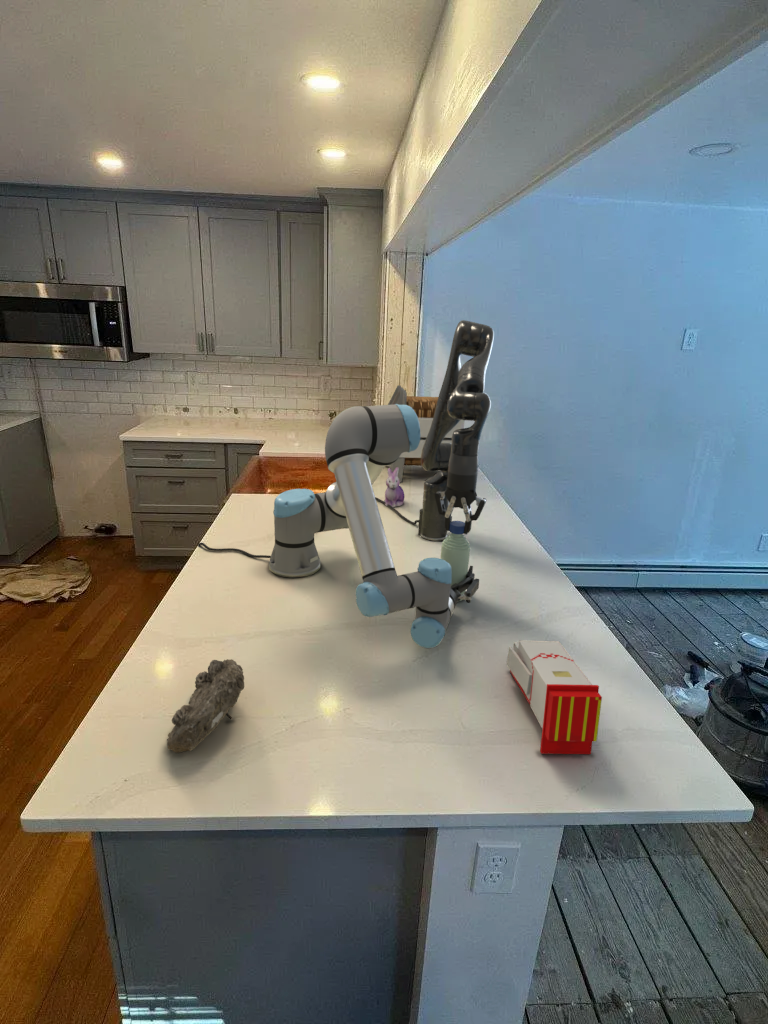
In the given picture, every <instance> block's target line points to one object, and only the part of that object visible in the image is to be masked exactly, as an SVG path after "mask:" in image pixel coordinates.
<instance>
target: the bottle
mask: <svg viewBox="0 0 768 1024" xmlns="http://www.w3.org/2000/svg"><path fill="white" fill-rule="evenodd" d="M470 553H471V544H470V542H469V541H468V539H467V538H466V536H465V534H453V533H451V532H450V533H449V534H448V535H447V537H446V538H445V539H444V540H442V542H441V549H440V559H443V560H445V561H446V562H448V563H449V564H450V566H451V572H452V583H451V585H453V584H455V583H457V584H458V583H459V582H461V581H463V580H464V579H466V575H467V573H468V570H469V565H470V564H469V563H470ZM465 591H467V590H465ZM465 591H463V592H462V593H461V594H463V593H465ZM462 601H464V599H460V601H458V602H457V603H459V602H462Z"/></svg>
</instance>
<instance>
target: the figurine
mask: <svg viewBox="0 0 768 1024" xmlns="http://www.w3.org/2000/svg"><path fill="white" fill-rule="evenodd" d="M398 471H399V468H398V467H397V468H396V469H395V470H394V472H392V471H391V469H390V467H388V468H387V478H386V479H385V484H386V485H385V486H386V489H385V492H384V498H385V499H384V500H383V501H384V502H386V504H384V505H385V507H388V506H387V505H388V504H389V505H390V506H392V507H393V508H395V507H400V506H403V505H404V502H405V490H404V489H403V487H402V486H401V485H400V484H401V482H400V481H399V479H398V476H397V475H398Z"/></svg>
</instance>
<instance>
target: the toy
mask: <svg viewBox="0 0 768 1024" xmlns="http://www.w3.org/2000/svg"><path fill="white" fill-rule="evenodd" d="M506 658H507V659H506V666H507V667H508V669H509V673H510V674H511V676H512V678H513V679H514V681H515V683H516V685H517V686H518V688H519V690H520V691H521V692H522V694H523V697H524V698H525V699H526V701H527V703H528V705H529V707H530V709H531V710H532V712H533V714H534V716H535V718H536V720H537V722H538V724H539V726H540V728H541V730H542V731H541V740H540V750H539V752H540V754H543V755H544V754H545V755H548V754H549V755H551V754H553V755H591V754H592V748H593V742H597V740H598V731H599V725H600V716H601V708H602V706H601V705H602V698H603V696H602V695H601V694H600V693H599V689H600V686H599V685H598V684H592V682H591V681H590V680H589V678H588V677H587V676H586V674H585V673H584V671H583V670H582V669H581V668H580V666H579V665H578V664H577V663H576V662H575V660H574V659H573V658H572V656H571V655H570V653H568V651H567V650H566V648H565V647H564V645H563V644H562V643H561V642H560V641H558V640H518V641H513V645H512V646H508V651H507V657H506Z"/></svg>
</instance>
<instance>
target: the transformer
mask: <svg viewBox="0 0 768 1024" xmlns="http://www.w3.org/2000/svg"><path fill="white" fill-rule="evenodd" d="M407 394H408V393H407V390H406V389H404V388H403V387H402V385H399V384H398V385H397V386H396V388H395V390H394V392H393V394H392V395H391V398H390V400H389V402H388V404H387V405H395V404H398V405H408V406H410V407H411V408H412V409H413V410H414V411H415V413H416V415H417V417H418V420H419V424H420V434H421V435H420V442H419V445H418V447H417V449H416V450H414V451H411V452H403V453H401V455H400V456H399V458H398V459H397V460H396V461H395V462H394V463H393V464H391V465H388V466H386V467H388V468H390V469H391V471H392V472H394V470H395V469H396V468H397V467H398V468H399V471H398V475H397V476H398V479H399V481H400V483H402V482H403V475H404V469H405V466H406V467H407V466H411V467H412V466H413V467H415V466H416V467H417V466H418V467H422V465H421V452H422V449H423V446H424V443H425V440H426V438H427V435H428V433H429V430H430V427H431V424H432V420H433V417H434V413H435V409H436V405H437V401H438V397H439V396H415V395H414V396H413V395H412V396H411V395H407ZM465 421H466V420H460V421H459V423H458V424H457V425H456V426H455V427H454V428H453V429H452V430H451V431H450V432H449V433H448V434H447V435H446V436H445V437H444V438H443V440H442V442H441V443H451V444H452V435H453V432H454V431H455V430H457V429H463V428H465Z"/></svg>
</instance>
